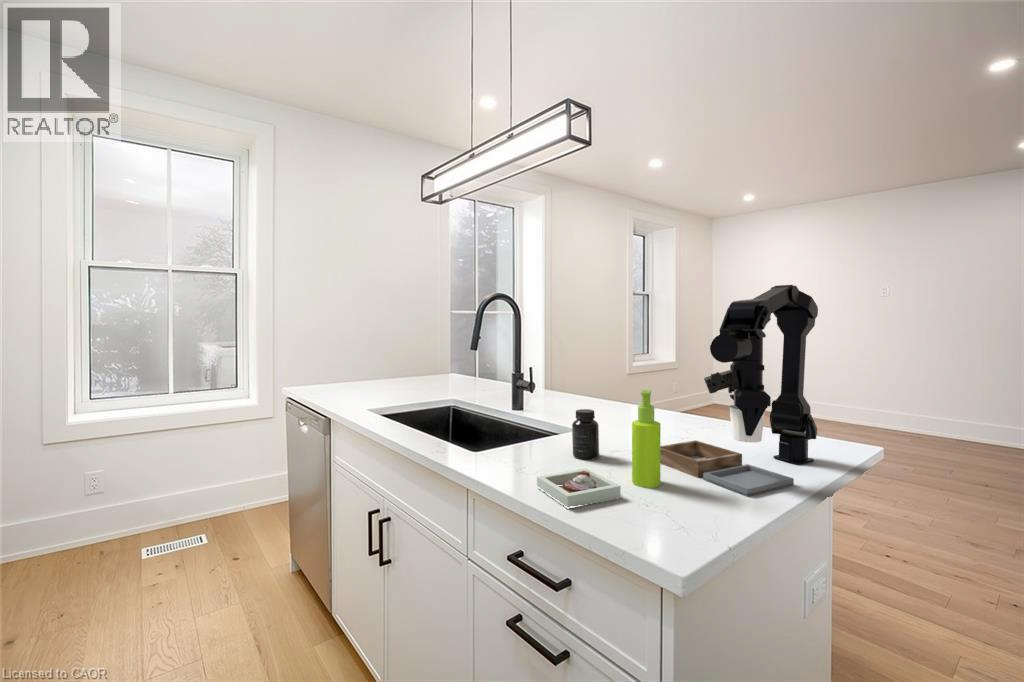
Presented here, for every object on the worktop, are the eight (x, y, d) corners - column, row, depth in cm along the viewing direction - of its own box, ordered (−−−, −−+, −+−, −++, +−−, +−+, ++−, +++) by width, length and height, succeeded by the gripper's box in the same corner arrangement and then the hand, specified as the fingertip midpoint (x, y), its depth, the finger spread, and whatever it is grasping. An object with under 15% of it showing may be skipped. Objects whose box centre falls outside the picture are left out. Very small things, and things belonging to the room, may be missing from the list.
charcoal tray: (747, 470, 107) (747, 464, 107) (793, 485, 97) (793, 478, 97) (703, 479, 102) (703, 472, 101) (747, 496, 92) (747, 489, 91)
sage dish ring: (585, 479, 103) (585, 468, 102) (620, 498, 91) (620, 485, 91) (537, 488, 97) (536, 476, 97) (567, 509, 86) (567, 496, 86)
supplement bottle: (580, 451, 125) (579, 407, 124) (603, 455, 121) (603, 409, 120) (567, 457, 119) (567, 411, 119) (591, 462, 115) (591, 414, 115)
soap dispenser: (660, 478, 103) (660, 388, 102) (660, 488, 96) (660, 393, 96) (633, 475, 105) (633, 387, 104) (631, 485, 98) (630, 392, 97)
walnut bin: (695, 453, 121) (695, 440, 121) (742, 468, 109) (742, 453, 109) (654, 460, 116) (654, 446, 115) (697, 477, 103) (698, 462, 103)
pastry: (605, 493, 95) (605, 469, 95) (593, 506, 88) (593, 480, 88) (568, 487, 99) (568, 464, 98) (555, 499, 92) (554, 474, 92)
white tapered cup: (769, 443, 95) (769, 410, 95) (733, 442, 97) (733, 409, 96) (759, 435, 102) (759, 404, 102) (725, 434, 103) (725, 403, 103)
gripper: (705, 355, 110) (704, 420, 111) (708, 362, 93) (708, 439, 93) (757, 356, 106) (757, 423, 107) (771, 363, 89) (770, 444, 89)
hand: (747, 432), depth 99 cm, fingers closed on white tapered cup, 6 cm apart
